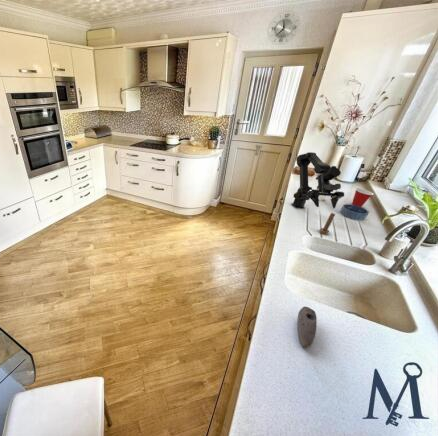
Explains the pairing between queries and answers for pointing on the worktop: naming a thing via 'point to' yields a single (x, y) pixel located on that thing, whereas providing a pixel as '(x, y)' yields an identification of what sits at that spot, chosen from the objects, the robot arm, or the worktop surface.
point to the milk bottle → (321, 195)
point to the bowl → (354, 212)
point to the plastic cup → (361, 197)
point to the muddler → (327, 225)
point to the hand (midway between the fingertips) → (326, 207)
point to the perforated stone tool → (306, 326)
